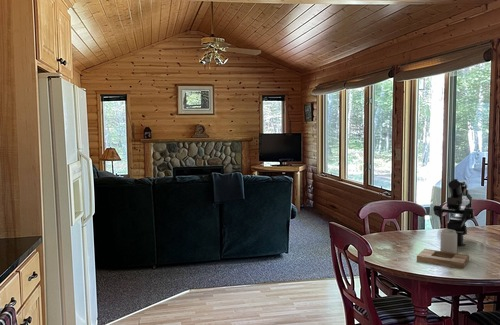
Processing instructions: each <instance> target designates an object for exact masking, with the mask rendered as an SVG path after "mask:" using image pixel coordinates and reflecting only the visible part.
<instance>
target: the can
mask: <svg viewBox="0 0 500 325" xmlns="http://www.w3.org/2000/svg"><path fill="white" fill-rule="evenodd" d="M439 251H444V252H451V253H458V246H457V233H456V231H455V230H451V229H447V228H443V229H442V230H441V232H440V250H439Z"/></svg>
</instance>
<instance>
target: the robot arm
mask: <svg viewBox="0 0 500 325" xmlns="http://www.w3.org/2000/svg"><path fill="white" fill-rule="evenodd" d="M448 192H449V195H450V197H449V196H447V198H446V208H443V205H439V204H438V205H436V204H435V205H433V208H432V210H433V214H434V215H435V216H436V217H438V218H439V221H440V222H439V223H440V225H443V220H444V219H443V218H444V214H447V213H448V214H452V215H451V216H450V218H449V221H447V224H446V226H447V228H446V229H451V230H455V231H456V233H457V247H462V246H466V245H467V244H466V243H464V236H465V235H468V231H467V230H468V228H467V225H466V223H467V222H468V221H469V220H470V221H471V220H474V219H475V210H474V208H473V197H472V196H471V194H470V193H469V189H468V185H467V183H466V181H460V180H458V178H453V180H451V181H449V182H448ZM465 196H466V199H465V198H463V197H465Z"/></svg>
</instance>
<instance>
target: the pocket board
mask: <svg viewBox="0 0 500 325" xmlns="http://www.w3.org/2000/svg"><path fill="white" fill-rule="evenodd" d="M469 261H470V255H469V254H463V253H458V252H457V253H451V252H444V251H440V250H438V249H437V250H436V249H430V248H424V249H422V250H421V251H420V252H419V253H418V254H417V255H416V262H421V263H428V264H434V265H439V266H440V265H441V266H447V267H450V268H451V267H453V268H458V269H464V268H466V267H465V266H466V265H467V264H468V262H469Z"/></svg>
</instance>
